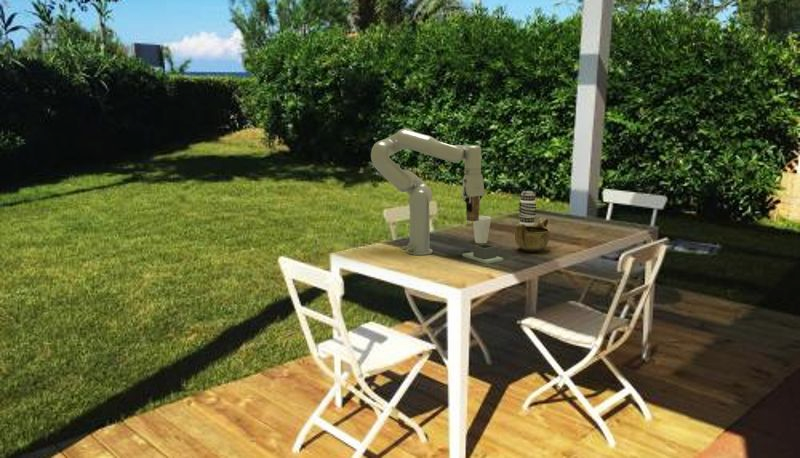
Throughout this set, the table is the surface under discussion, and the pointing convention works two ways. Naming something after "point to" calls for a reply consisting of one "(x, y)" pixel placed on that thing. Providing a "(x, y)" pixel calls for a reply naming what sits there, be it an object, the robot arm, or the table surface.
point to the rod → (474, 210)
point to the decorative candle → (527, 208)
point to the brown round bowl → (532, 236)
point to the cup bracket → (484, 254)
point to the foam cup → (481, 229)
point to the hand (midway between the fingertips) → (472, 210)
